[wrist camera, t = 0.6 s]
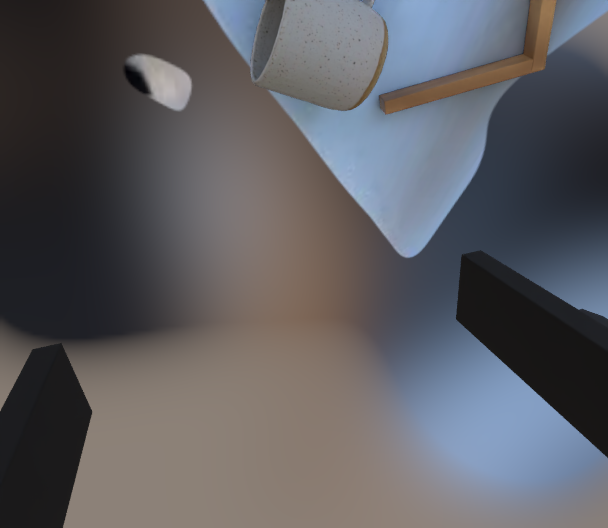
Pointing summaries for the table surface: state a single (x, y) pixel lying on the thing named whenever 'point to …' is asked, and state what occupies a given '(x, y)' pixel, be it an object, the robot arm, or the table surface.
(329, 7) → the ceramic mug
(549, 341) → the robot arm
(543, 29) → the oak frame
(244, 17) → the table surface
